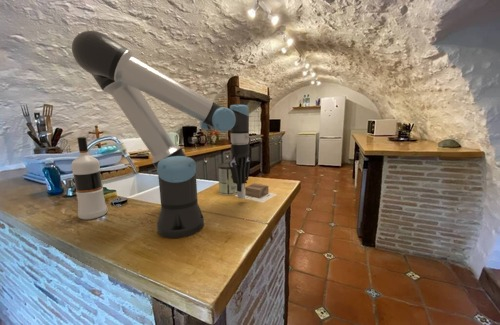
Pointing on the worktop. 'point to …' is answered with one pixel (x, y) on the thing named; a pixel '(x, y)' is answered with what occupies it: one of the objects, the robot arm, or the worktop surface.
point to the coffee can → (226, 180)
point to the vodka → (88, 184)
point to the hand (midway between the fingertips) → (241, 197)
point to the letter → (260, 198)
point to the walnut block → (256, 190)
